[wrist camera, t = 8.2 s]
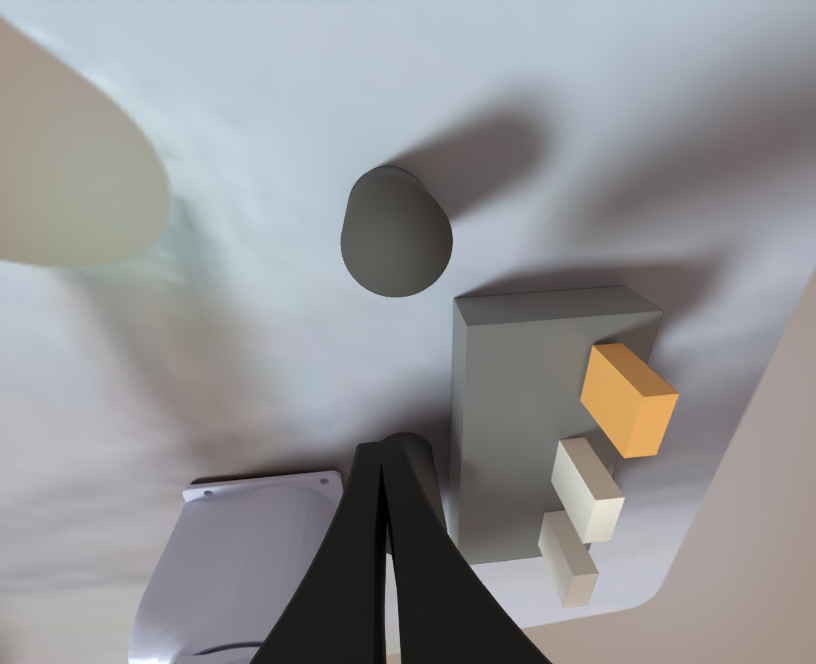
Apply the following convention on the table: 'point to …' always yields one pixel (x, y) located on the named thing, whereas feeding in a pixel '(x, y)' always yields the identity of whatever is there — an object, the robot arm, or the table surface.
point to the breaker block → (537, 428)
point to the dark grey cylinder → (394, 234)
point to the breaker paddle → (627, 400)
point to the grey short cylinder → (421, 472)
